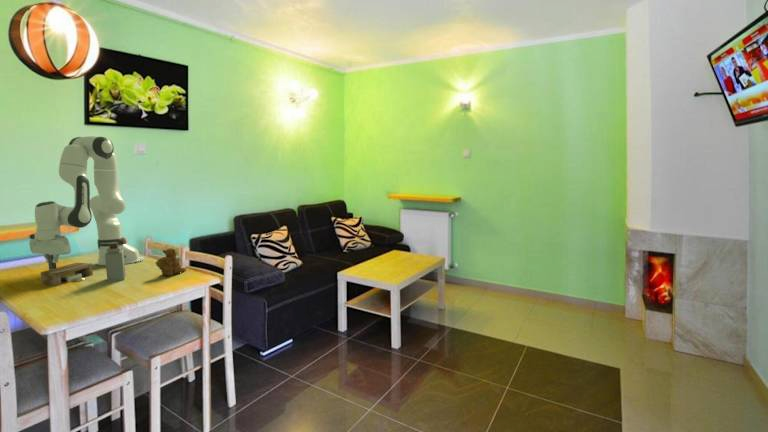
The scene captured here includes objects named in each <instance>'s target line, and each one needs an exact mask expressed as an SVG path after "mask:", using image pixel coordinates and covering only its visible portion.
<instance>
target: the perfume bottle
mask: <svg viewBox="0 0 768 432" xmlns="http://www.w3.org/2000/svg"><path fill="white" fill-rule="evenodd" d="M106 250H107V252H106V254H105V261H106V265H105V270H106V282H108V283H109V282H118V281H124V280H125V279H126V277H127V276H126V274H127V273H126V266H125V265H126V264H125V263H124V251H123V250H122V251H121V246H119V247H118V243H110V244H109V247H108V248H107V249H106Z"/></svg>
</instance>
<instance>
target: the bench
mask: <svg viewBox="0 0 768 432" xmlns="http://www.w3.org/2000/svg"><path fill="white" fill-rule="evenodd" d="M73 272H74V275H75V274H78V273H82V276H85V277H86V276H88V277H91V276H94V275H93V273H94V272H93V263H91V262H90V263H89V262H75V263H70V264H66V265H62V266H59V267H56V268H55V269H51V270H49V269H48V270H44V271H40V278H41V284H42V285H44V286H45V285H46V286H61V285H62V280H61V276H63V275H67V274H71V273H73ZM42 285H41V286H42Z"/></svg>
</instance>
